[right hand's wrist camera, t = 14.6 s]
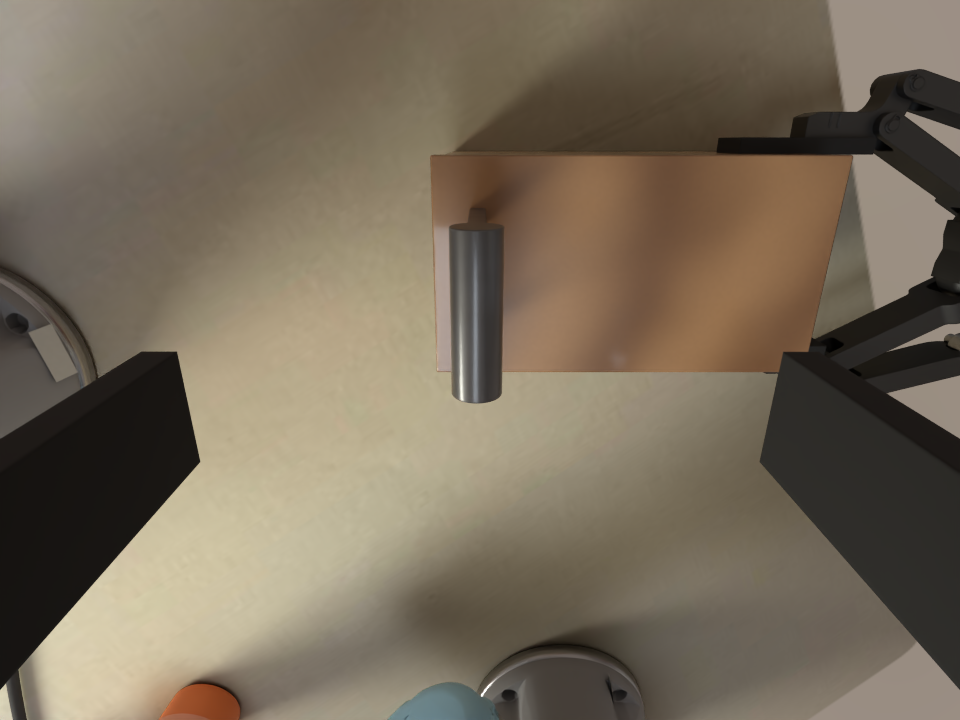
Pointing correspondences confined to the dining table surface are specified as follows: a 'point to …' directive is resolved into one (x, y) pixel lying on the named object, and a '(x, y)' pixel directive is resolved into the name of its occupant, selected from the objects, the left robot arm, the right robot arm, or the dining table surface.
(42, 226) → the dining table surface
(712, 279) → the lid
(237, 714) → the cup with straw
